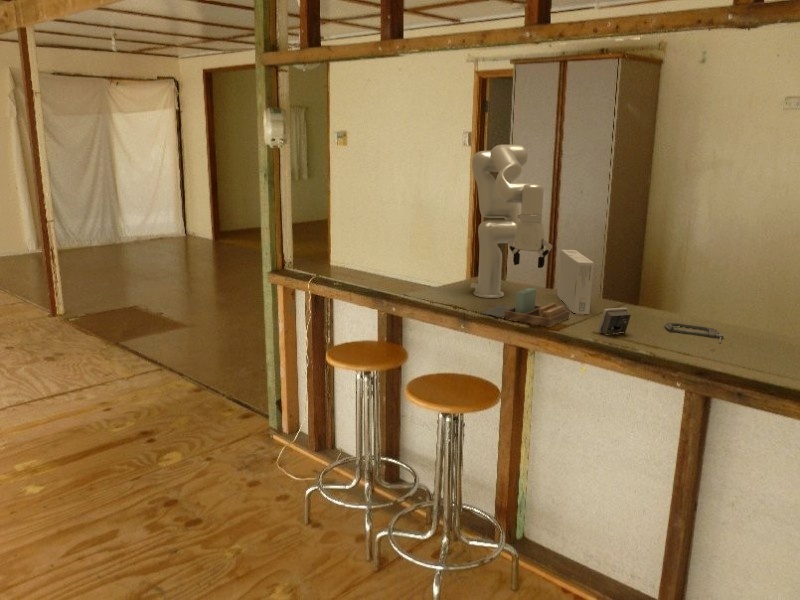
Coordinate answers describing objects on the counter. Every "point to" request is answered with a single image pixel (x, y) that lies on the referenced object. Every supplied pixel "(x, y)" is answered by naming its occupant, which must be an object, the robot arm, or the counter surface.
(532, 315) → the brown divided tray
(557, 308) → the offcuts
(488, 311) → the mat
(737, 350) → the counter surface
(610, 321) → the electrical switch
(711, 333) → the c clamp
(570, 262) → the packaging
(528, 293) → the teal square block
